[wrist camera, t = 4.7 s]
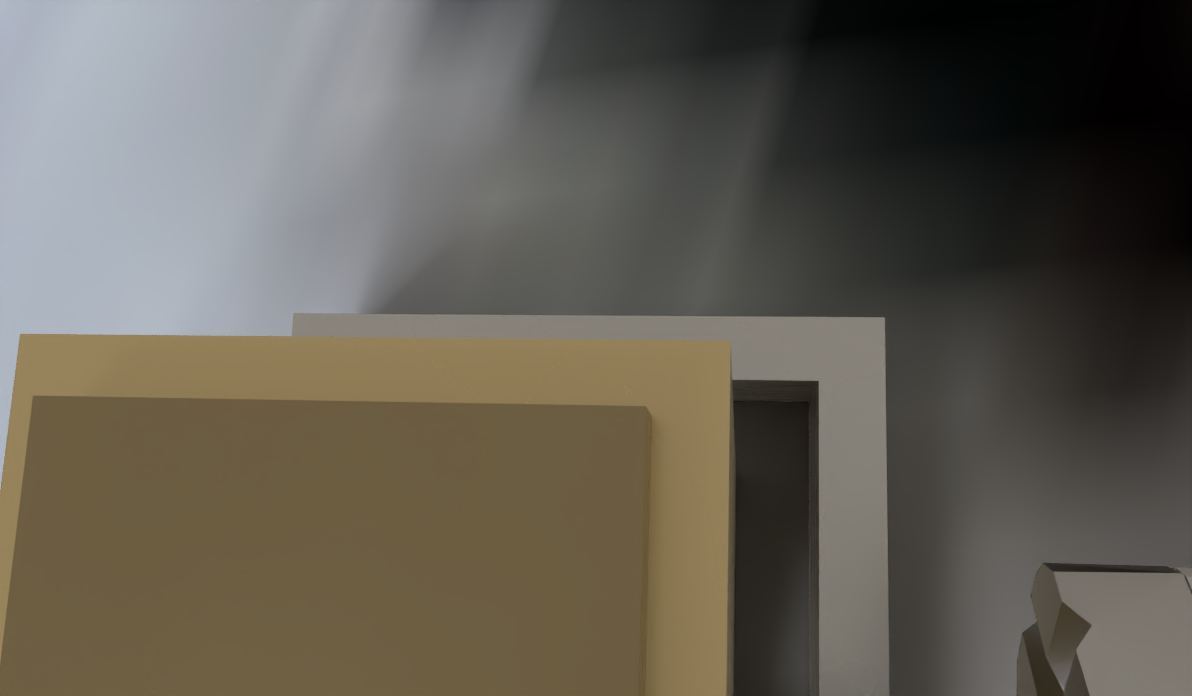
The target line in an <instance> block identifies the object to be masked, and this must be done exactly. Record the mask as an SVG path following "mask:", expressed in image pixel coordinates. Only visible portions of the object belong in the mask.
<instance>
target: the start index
mask: <svg viewBox="0 0 1192 696" xmlns="http://www.w3.org/2000/svg"><path fill="white" fill-rule="evenodd" d="M292 337H388V338H493V339H598V340H702V341H731V360H732V385H733V401H775V402H809V696H890V687H889V607H888V527H887V447H886V367H885V317H754V316H604V315H454V314H304V313H294V317H293V329H292Z"/></svg>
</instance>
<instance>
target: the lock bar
mask: <svg viewBox="0 0 1192 696" xmlns="http://www.w3.org/2000/svg"><path fill="white" fill-rule="evenodd" d="M735 528H736V457H735V433H734V409H733V385H732V360H731V341H702V340H598V339H493V338H388V337H283V336H179V335H74V334H20V340H19V348H18V356H17V363H16V371H15V379H14V387H13V395H12V403H11V411H10V419H9V427H8V435H7V443H6V451H5V458H4V466H3V474H2V482H1V490H0V696H734V617H735Z"/></svg>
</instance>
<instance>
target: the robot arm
mask: <svg viewBox="0 0 1192 696" xmlns="http://www.w3.org/2000/svg"><path fill="white" fill-rule="evenodd" d="M1031 599H1032V603H1033V607H1034V611H1035V615H1036V619H1037V622H1036V623H1035V624H1034V625H1032V626H1031V627H1030V628H1028V629H1027V630H1026V631H1024V632H1023V633H1022V638H1021V643H1020V649H1019V654H1018V660H1017V696H1192V567H1174V568H1169V567H1166V566H1131V565H1096V564H1061V563H1043V564H1042V565H1041V567H1040V568H1039V570H1038V572H1037V573H1036V576H1035V580H1034V584H1033V589H1032V593H1031Z"/></svg>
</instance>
